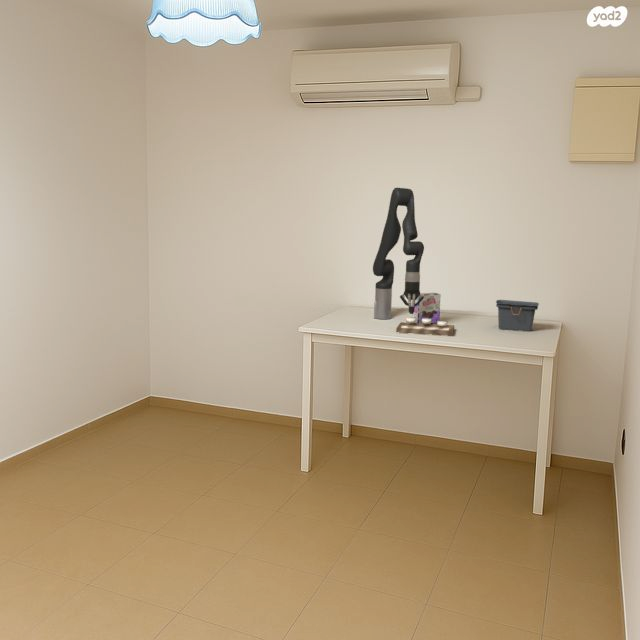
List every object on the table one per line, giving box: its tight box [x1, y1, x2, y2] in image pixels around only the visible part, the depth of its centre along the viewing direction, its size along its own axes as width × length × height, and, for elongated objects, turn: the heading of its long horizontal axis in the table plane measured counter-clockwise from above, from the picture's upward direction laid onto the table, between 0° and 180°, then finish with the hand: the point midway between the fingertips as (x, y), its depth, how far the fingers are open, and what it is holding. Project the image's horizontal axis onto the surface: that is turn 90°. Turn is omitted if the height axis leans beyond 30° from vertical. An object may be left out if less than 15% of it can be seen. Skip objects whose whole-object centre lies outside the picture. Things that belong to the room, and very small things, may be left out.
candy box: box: [412, 292, 441, 324], centre depth 366 cm, size 14×6×16 cm, turn 112°
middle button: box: [422, 318, 431, 324], centre depth 347 cm, size 5×5×2 cm
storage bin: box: [495, 299, 540, 332], centre depth 351 cm, size 21×16×14 cm
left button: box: [405, 316, 416, 323], centre depth 348 cm, size 5×5×2 cm
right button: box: [436, 320, 448, 327], centre depth 345 cm, size 5×5×2 cm
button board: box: [395, 322, 455, 337], centre depth 344 cm, size 28×16×3 cm, turn 76°
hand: (411, 313), depth 348 cm, fingers closed
